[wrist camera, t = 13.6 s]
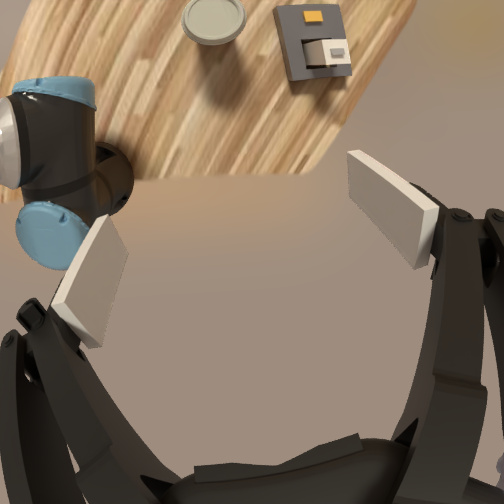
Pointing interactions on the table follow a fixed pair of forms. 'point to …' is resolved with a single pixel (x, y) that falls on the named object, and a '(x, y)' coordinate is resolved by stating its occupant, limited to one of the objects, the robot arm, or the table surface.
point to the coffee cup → (213, 21)
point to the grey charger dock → (308, 37)
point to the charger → (326, 52)
